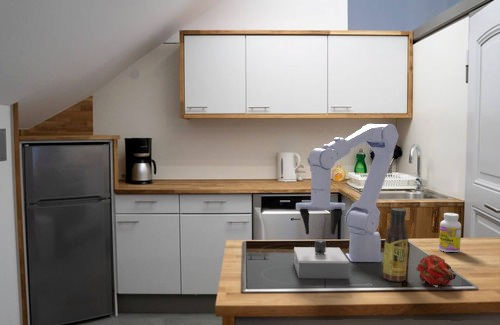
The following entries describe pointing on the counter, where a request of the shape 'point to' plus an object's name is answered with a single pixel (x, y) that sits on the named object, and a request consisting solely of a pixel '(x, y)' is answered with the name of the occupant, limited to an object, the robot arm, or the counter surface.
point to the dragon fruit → (435, 270)
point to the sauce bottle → (396, 247)
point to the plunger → (320, 246)
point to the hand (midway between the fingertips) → (319, 233)
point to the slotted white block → (321, 263)
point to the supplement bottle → (450, 233)
